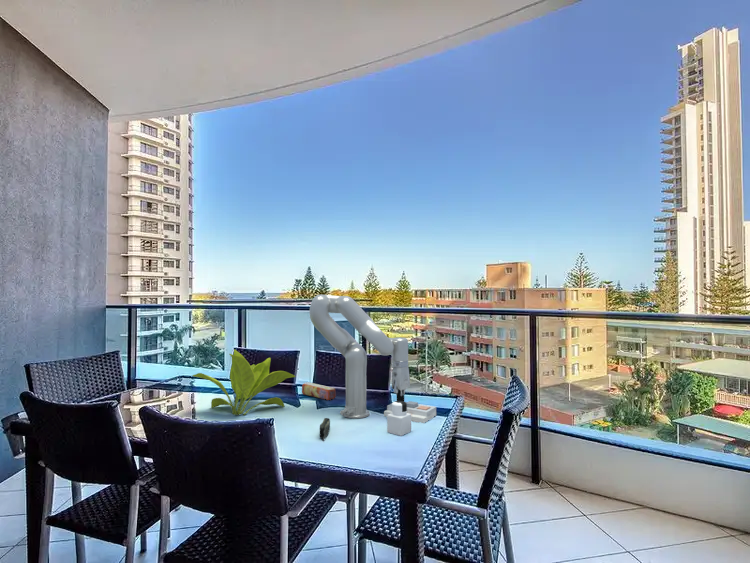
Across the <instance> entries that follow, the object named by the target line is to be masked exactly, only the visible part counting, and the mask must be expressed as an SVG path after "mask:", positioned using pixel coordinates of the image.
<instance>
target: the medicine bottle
mask: <svg viewBox="0 0 750 563" xmlns="http://www.w3.org/2000/svg"><path fill="white" fill-rule="evenodd" d="M406 402H407V401H405V400H404V401H397V400H396V401H393V402H392V403H391V404H392V413H390V414H388V415H387V416H386V417H387V418H386V426H387V428H386V431H387V433H390V434H392V435H397V436H400V437H402V436H404V434H405V435H406V434H408V433H411V432H412V421H411V414H409V413H407V403H406Z"/></svg>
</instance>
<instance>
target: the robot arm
mask: <svg viewBox="0 0 750 563" xmlns="http://www.w3.org/2000/svg"><path fill="white" fill-rule="evenodd" d="M330 314H341V315H342V316H343V317H344V318H345V320H347V321H348V323H349V324H351V325H352V327H353V328H354V329H355V331H357V332H358V333H359V334H360V335H361V336H363V338H365V339H366V340H367V341H368V342H369V343H370V344H371V346H373V348H374V349H375V350H376V351H377V352H378V353H379V354H380V355H382V356H390V355H391V367H392V372H391V389H392V390H393V393H394V394H395V395H396V401H404V402H405V393H406V390H407V389H408V388H410V386H411V382H410V380H411V379H410V368H409V340H408V338H407V337H388V336H387V335H386V334H385V333H384V332H383V331H382V330H381V328H380V327H378V325H377V324H376V323H375V322H374V320H373V319H372V318H371V317H370V316H369V314H367V312H366V311H365V310H364V309H362V307H361V306H360V305H359V304H358V303H357V302H356V301H355V300H354V299H353V298H352V297H351V296H347V295H330V294H317V295H315V296H314V297H313V299H312V300H311V303H310V305H309V318H310V321H311V323H312V325H313V326H314V328H315V329H316V330H317V331H318V332H319V333H320V334H321V336H323V338H325V339H326V341H328V342H329V343H330V345H331V347H332V348H334V349H335V350H337V351H338V352H339V353H340V354H341V355H342V356H343V357H344V358H345V405H344V409H342V410H340V411H339V412H340V415H341V416H342V417H344V418H347V419H348V418H349V419H363V418H366V417H367V418H368V416H370V412H371V411H370V410H368V409H367V365H368V356H367V352H366V350H365V348H364V347H363V346H362V345H361V344H360V343H359V342H358V341H357V340H356V339H355V337H353V336H352V335H351V334H350V333H349V331H348V330H346V329H345V328H343V327H341V326H340V325H339V324H338V322H336V321H335V319H333V317H331V315H330Z"/></svg>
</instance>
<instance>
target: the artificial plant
mask: <svg viewBox="0 0 750 563" xmlns="http://www.w3.org/2000/svg"><path fill="white" fill-rule="evenodd" d="M229 356H230V357H231V366H230V372H229V376H230V378H229V379H230V385H231V388H232V390H233V392H234V394H235V399H234V404H233V402H232V400H231V397H230V396H229V393H228V391H227V389H226V387H225V386H224V385H223V383H222V382H221V381H219V380H217V379H216V378H214V377H212V376H210V375H207V374H205V373H202V372H198V373H195V374H192V375H191V376H192V377H195V378H200V379H204V380H207V381H210V382H212V383H213V384H214V385H215V386H217V387H218V388H219V389H220V390H222V392H223V393H224V394H225V395H226V397H227V399H228V400H226V399H224V398H222V397H214V398H212V399H211V402H210V404H211V406H210V408H212V409H213V408H217V407H219V406H230V407H231V414H232V415H233V416H234V415H235V416H240V415H242V414H243V416H245V415H247V414H248V413H249V411H251V410H252V409H253V408H255V407H257V406H260V405H262V406H263V405H264V406H268V405H269V406H270V405H277V406H280V407H282V408H285V403H284V401H283V400H282V399H281V398H280V397H277V396H276V397H275V396H274V397H271V398H268V399H266V400H264V401H261V402H259V403H256V404H254V405H253V406H251V407H250V408H249V409H247V410H246V411H245V409H246V407H247V405H248V404H249V402H250V401H251V400H252V399H253V398H254V397H256V396H257V395H259V393H262V392H263V391H265V390H266V389H269V388H272V387H274V386H277V385H279V384H281V383H282V382H283V381H285V380H287V379H291V378H296V375H294V374H292V373H290V372H288V371H286V370H285V371H284V370H277V371H272V372H270V367H271V361H272V360H271V359H272V358H271V357H268V358H266V359H265V360H264V361H262V362H260V363H257V364H254V363H253V364H252V365H250V362H249V361H247V359H246V358H245V357H244V355H242V354H241V353H240V352H239V351H237V350H236V349H234V350H233V354H232V353H229ZM238 403H239V404H238ZM236 408H237V409H236ZM244 411H245V412H244Z"/></svg>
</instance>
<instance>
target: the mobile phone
mask: <svg viewBox="0 0 750 563" xmlns="http://www.w3.org/2000/svg"><path fill="white" fill-rule="evenodd" d="M330 429H331V420H330V418H329V417H324V418H323V421H322V422H321V423H320V424H319V438H320V439H322V438H323V439H322V441H323V440H324V439H326V437H327V436H328V434H329V432H330ZM324 441H325V440H324Z"/></svg>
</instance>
